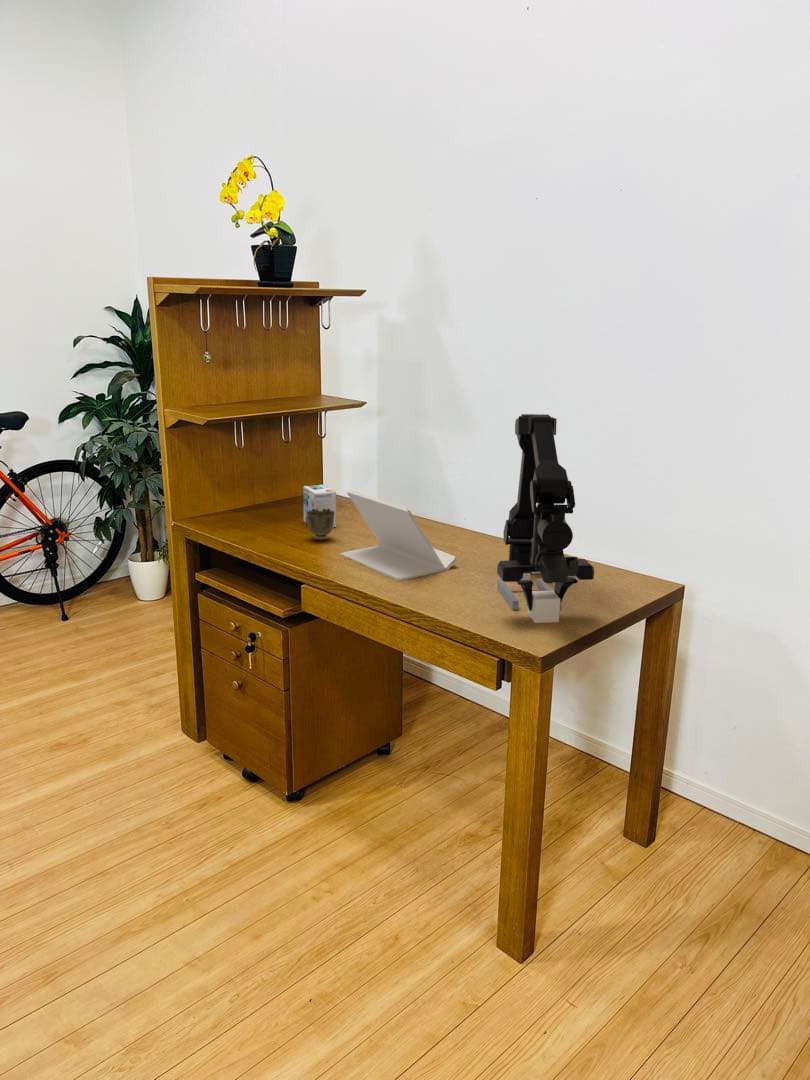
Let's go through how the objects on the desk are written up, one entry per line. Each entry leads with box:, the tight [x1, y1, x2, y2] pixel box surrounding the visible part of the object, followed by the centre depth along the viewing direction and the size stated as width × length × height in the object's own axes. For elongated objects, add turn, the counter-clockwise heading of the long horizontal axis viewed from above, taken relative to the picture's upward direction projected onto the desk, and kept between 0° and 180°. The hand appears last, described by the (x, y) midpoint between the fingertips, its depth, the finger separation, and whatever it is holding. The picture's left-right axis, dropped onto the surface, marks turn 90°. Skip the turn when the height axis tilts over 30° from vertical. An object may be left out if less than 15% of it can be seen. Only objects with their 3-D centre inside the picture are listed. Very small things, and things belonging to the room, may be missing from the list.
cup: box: [307, 509, 335, 542], centre depth 221 cm, size 8×7×8 cm
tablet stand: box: [340, 489, 457, 581], centre depth 202 cm, size 18×25×17 cm
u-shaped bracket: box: [497, 578, 562, 611], centre depth 179 cm, size 14×10×2 cm
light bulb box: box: [302, 484, 337, 528], centre depth 236 cm, size 11×7×11 cm, turn 25°
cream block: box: [527, 590, 561, 624], centre depth 167 cm, size 5×5×5 cm
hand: (542, 609), depth 168 cm, fingers closed on cream block, 5 cm apart
